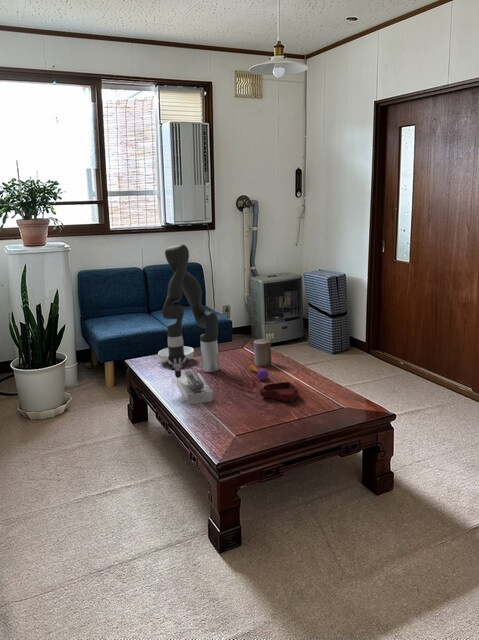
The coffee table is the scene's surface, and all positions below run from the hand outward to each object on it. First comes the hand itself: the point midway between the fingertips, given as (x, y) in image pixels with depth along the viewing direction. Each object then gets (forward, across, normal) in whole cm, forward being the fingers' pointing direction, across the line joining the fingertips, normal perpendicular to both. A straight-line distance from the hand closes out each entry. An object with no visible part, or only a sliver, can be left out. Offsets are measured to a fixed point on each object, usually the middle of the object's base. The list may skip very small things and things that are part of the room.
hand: (178, 377), depth 279 cm
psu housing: (+7, -7, +5) cm, 11 cm away
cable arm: (0, -7, +8) cm, 11 cm away
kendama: (+8, -44, -6) cm, 45 cm away
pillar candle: (+8, -52, -23) cm, 58 cm away
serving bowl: (+8, -7, -48) cm, 49 cm away
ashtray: (+8, -45, +26) cm, 53 cm away
